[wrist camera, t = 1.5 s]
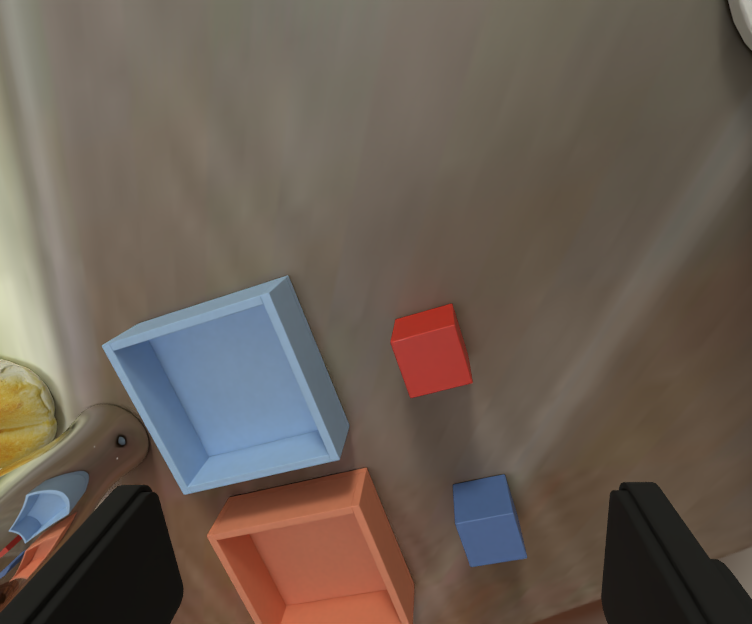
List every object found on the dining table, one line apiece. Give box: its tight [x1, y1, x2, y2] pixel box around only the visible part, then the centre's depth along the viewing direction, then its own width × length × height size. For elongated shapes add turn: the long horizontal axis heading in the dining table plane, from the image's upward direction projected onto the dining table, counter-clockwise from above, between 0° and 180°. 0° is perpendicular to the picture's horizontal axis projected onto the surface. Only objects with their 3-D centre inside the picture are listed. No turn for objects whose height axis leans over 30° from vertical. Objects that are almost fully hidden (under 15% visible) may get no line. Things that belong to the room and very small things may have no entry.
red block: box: [391, 304, 473, 398], centre depth 30 cm, size 4×4×4 cm
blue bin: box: [102, 276, 349, 495], centre depth 33 cm, size 12×12×4 cm
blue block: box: [453, 474, 527, 567], centre depth 34 cm, size 4×4×4 cm
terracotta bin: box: [207, 468, 414, 624], centre depth 37 cm, size 12×12×4 cm
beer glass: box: [0, 404, 149, 612], centre depth 31 cm, size 7×7×15 cm
